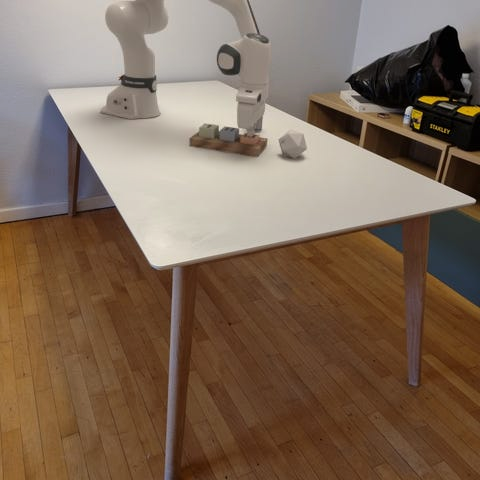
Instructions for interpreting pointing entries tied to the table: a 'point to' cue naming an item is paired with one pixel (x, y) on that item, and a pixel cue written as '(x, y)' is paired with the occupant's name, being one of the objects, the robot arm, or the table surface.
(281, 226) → the table surface
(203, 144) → the panel
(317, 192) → the table surface
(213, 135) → the tile one
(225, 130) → the tile two
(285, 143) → the die
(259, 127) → the energy drink
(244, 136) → the tile three
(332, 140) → the table surface
